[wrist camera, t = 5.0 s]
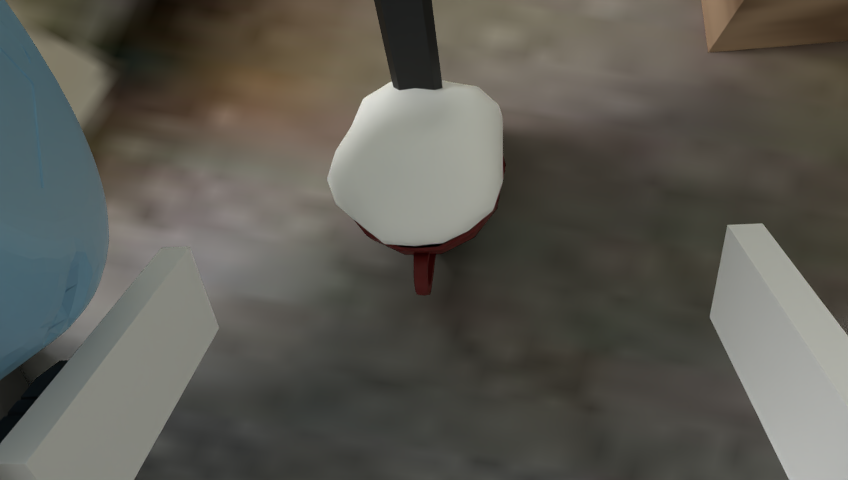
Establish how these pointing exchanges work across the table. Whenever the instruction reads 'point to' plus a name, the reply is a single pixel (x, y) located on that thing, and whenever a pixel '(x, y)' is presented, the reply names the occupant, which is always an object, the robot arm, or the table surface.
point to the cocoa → (419, 149)
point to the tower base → (773, 23)
